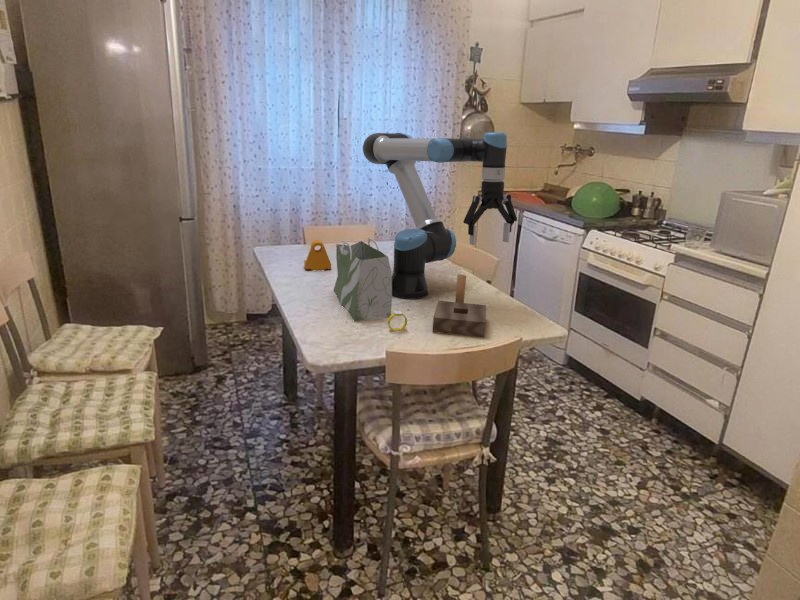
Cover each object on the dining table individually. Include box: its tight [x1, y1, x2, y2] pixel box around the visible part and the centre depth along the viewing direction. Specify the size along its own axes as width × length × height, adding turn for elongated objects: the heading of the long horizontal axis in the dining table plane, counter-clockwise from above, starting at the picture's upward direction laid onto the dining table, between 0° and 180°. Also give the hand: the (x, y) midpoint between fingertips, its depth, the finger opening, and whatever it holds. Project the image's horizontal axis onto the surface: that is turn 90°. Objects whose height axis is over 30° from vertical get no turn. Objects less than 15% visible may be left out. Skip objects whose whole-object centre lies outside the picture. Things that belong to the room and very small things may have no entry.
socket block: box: [431, 300, 487, 338], centre depth 169 cm, size 16×16×5 cm
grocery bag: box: [333, 237, 393, 322], centre depth 182 cm, size 32×14×23 cm, turn 20°
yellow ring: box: [387, 310, 408, 332], centre depth 164 cm, size 6×3×6 cm, turn 105°
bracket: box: [303, 239, 332, 271], centre depth 223 cm, size 11×7×12 cm, turn 104°
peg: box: [454, 274, 467, 303], centre depth 183 cm, size 3×3×12 cm
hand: (489, 243), depth 183 cm, fingers open, 13 cm apart
